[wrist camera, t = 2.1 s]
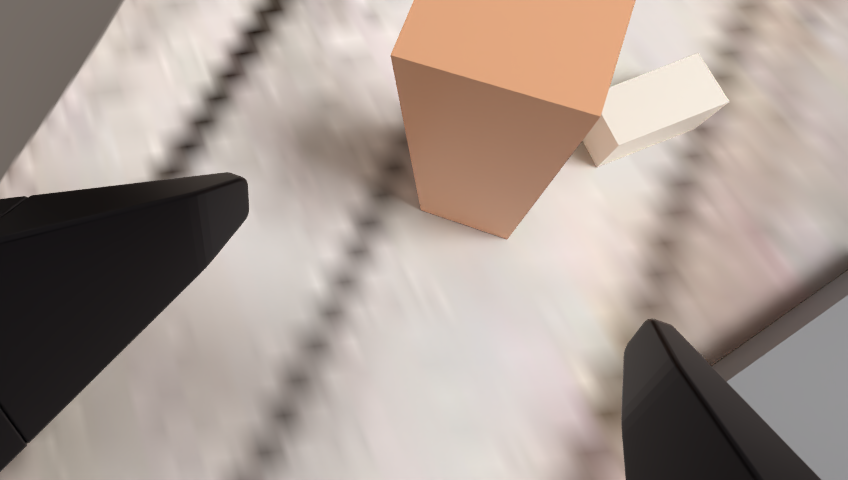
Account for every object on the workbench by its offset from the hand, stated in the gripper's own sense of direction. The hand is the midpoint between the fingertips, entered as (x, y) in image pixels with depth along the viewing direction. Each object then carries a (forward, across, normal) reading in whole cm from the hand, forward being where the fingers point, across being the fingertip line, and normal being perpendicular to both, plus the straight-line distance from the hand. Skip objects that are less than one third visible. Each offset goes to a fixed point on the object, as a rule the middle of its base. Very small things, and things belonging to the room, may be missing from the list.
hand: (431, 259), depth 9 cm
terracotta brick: (+14, 0, +4) cm, 14 cm away
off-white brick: (+18, -7, 0) cm, 20 cm away
